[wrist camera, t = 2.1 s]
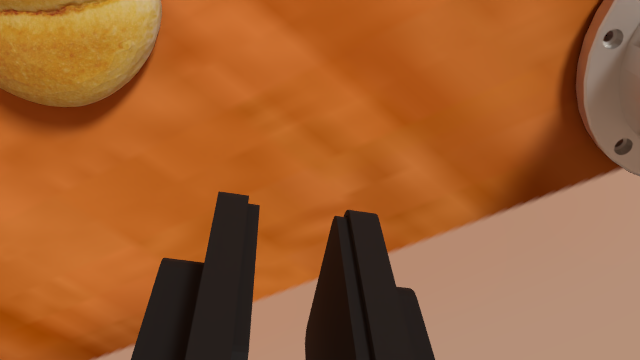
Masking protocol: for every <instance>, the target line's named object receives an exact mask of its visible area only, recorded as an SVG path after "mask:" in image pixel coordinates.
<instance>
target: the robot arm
mask: <svg viewBox="0 0 640 360" xmlns="http://www.w3.org/2000/svg"><path fill="white" fill-rule="evenodd" d="M607 32H608V35H607V37H605V35H606V34H607ZM604 37H605V38H604ZM576 94H577V102H578V109H579V113H580V115H581V118H582V120H583V123H584V126H585V128H586V131H587V132H588V133H589V135H590V136H591V138H592V139H593V141H594V142H595V144H596V145H597V146H598V147H599V148H600V149H601V150H602V151H603V152H604V153H605V154H606V155H607V156H608V157H609V158H610V159H611V160H612V161H614V162H615V163H616V164H618V165H619V166H621V167H622V168H624V169H625V170H627V171H628V172H630V173H633V174H636V175H638V176H640V0H604V1H603V2H602V4H601V5H600V7H599V8H598V10H597V11H596V13H595V16H594V18H593V20H592V22H591V24H590V26H589V29H588V31H587V33H586V35H585V37H584V41H583V45H582V49H581V52H580V56H579V60H578V64H577V77H576ZM248 199H249V196H247V195H240V194H233V193H226V192H219V193H218V198H217V203H216V208H215V213H214V218H213V223H212V228H211V233H210V237H209V242H208V247H207V252H206V257H205V262H204V263H201V262H193V261H185V260H177V259H169V258H163V259H162V261H161V264H160V267H159V270H158V273H157V277H156V280H155V283H154V286H153V290H152V293H151V296H150V299H149V302H148V306H147V309H146V312H145V315H144V319H143V322H142V325H141V328H140V332H139V335H138V338H137V341H136V345H135V348H134V351H133V354H132V358H131V360H248V352H249V339H250V326H251V312H252V300H253V286H254V273H255V260H256V247H257V233H258V220H259V205H254V204H248ZM305 354H306V360H435V358H434V354H433V351H432V348H431V344H430V341H429V337H428V334H427V331H426V327H425V324H424V321H423V317H422V314H421V310H420V307H419V304H418V300H417V297H416V295H415V293H414V291H413V290H412V289H410V288H402V287H396V284H395V281H394V276H393V273H392V269H391V265H390V261H389V257H388V253H387V249H386V245H385V241H384V238H383V234H382V230H381V226H380V222H379V218H378V215H377V214H374V213H367V212H360V211H353V210H347V211H346V212H345V214H344V217H340V216H335V217H334V219H333V222H332V225H331V230H330V234H329V238H328V242H327V246H326V250H325V254H324V258H323V262H322V266H321V271H320V275H319V279H318V283H317V287H316V291H315V295H314V299H313V303H312V308H311V312H310V316H309V320H308V324H307V329H306V337H305Z"/></svg>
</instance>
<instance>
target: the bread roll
mask: <svg viewBox="0 0 640 360" xmlns="http://www.w3.org/2000/svg"><path fill="white" fill-rule="evenodd" d="M161 17H162V5H161V0H0V88H1V89H3V90H5V91H7V92H9V93H11V94H13V95H15V96H18V97H20V98H23V99H25V100H28V101H31V102H35V103H39V104H43V105H47V106H57V107H78V106H84V105H88V104H91V103H94V102H97V101H99V100H102V99H104V98H106V97H108V96H110V95H111V94H113V93H114V92H116V91H117V90H119V89H120V88H122V87H123V86H124V85H125V84H127V83H128V82H129V81H130V80H131V79H132V78H133V77H134V76H135V75H136V74H137V73H138V72H139V70H140V69H141V67H142V66H143V64H144V63H145V61H146V60H147V58H148V57H149V55H150V53H151V51H152V49H153V47H154V44H155V41H156V38H157V35H158V32H159V29H160V23H161Z"/></svg>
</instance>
